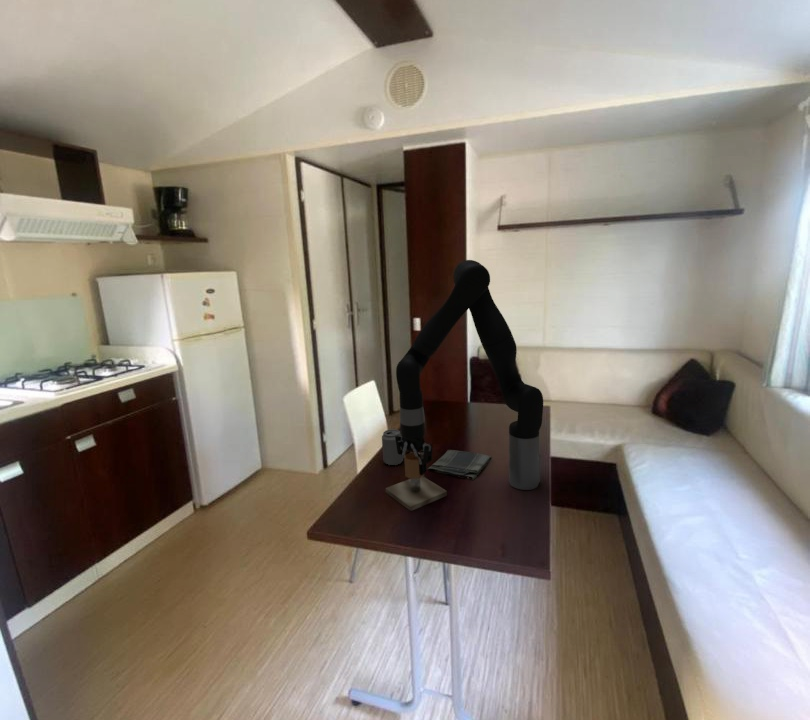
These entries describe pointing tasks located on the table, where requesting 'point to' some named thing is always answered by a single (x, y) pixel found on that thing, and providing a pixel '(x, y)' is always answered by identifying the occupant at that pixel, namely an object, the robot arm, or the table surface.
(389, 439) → the can
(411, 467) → the collar
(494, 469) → the table surface
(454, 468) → the dish towel
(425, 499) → the base
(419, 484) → the grey glossy cylinder
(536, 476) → the robot arm
